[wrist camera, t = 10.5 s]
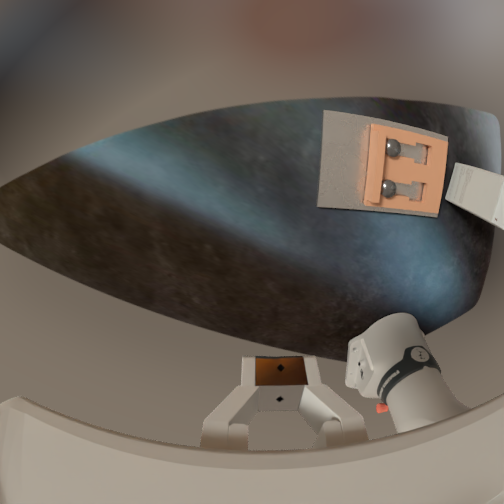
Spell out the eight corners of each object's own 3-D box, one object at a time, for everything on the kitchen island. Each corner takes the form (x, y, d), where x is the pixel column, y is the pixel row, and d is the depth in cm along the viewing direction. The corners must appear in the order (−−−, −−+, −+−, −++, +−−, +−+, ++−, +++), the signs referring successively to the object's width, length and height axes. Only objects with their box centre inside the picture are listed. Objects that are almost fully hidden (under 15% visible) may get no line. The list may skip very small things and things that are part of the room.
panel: (435, 211, 38) (444, 217, 35) (363, 203, 38) (370, 209, 35) (444, 141, 33) (454, 143, 31) (370, 123, 33) (378, 123, 31)
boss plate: (434, 215, 40) (443, 221, 37) (315, 205, 40) (320, 211, 37) (444, 136, 34) (455, 137, 31) (322, 110, 34) (327, 108, 31)
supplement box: (467, 211, 39) (511, 237, 27) (443, 198, 38) (490, 223, 27) (478, 176, 36) (525, 194, 25) (455, 160, 35) (504, 175, 24)
